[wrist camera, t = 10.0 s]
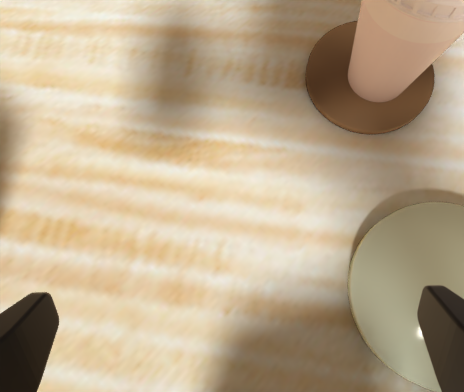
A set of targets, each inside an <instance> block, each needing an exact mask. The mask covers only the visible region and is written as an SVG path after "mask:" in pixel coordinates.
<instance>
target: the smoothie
mask: <svg viewBox="0 0 464 392" xmlns="http://www.w3.org/2000/svg"><path fill="white" fill-rule="evenodd" d="M463 33H464V0H362V1H361V7H360V12H359V17H358V22H357V28H356V33H355V38H354V43H353V48H352V54H351V59H350V64H349V69H348V81H349V84H350V86H351V88H352V89H353V91H354V92H355V93H356V94H357V95H358V96H360V97H361V98H363V99H365V100H368V101H371V102H387V101H390V100H393V99H394V98H396V97H398V96H399V95H400V94H401V93H402V92H403V91H404V90H405V89H406V88H407V87H408V86H409V85H410V84H411V83H412V82H413V81H414V80H415V79H416V78H417V77H418V76H419V75H421V74H422V73H423V72H424V71H425V70H426V69H427V68H428V67H429V66H430V65H431V64H432V63H433V62H434V61H435V60H436V59H437V58H438V57H439V56H440V55H441V54H442V53H443V52H444V51H445V50H446V49H447V48H448V47H449V46H450V45H451V44H453V43H454V42H455V41H456V40H457V39H458V38H459V37H460V36H461V35H462V34H463Z"/></svg>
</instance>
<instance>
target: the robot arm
mask: <svg viewBox="0 0 464 392" xmlns="http://www.w3.org/2000/svg"><path fill="white" fill-rule="evenodd" d="M417 318H418V322H419V325H420V328H421V332H422V335H423V338H424V341H425V344H426V347H427V350H428V353H429V356H430V360H431V363H432V366H433V369H434V372H435V375H436V378H437V381H438V383H439V386H440V388H441V391H442V392H464V299H463V298H462V297H460V296H459V295H457V294H456V293H454V292H453V291H451V290H450V289H448V288H447V287H445V286H443V285H427V286H425V287H424V288H423V290H422V294H421V298H420V302H419V306H418V311H417ZM58 326H59V316H58V313H57V310H56V307H55V305H54V302H53V299H52V297H51V295H50V294H49V293H47V292H36V293H31V294H29V295H27V296H26V297H24V298H23V299H21V300H20V301H18V302H17V303H16V304H14V305H13V306H11V307H10V308H8V309H7V310H5V311H4V312H2V313H1V314H0V392H37V390H38V387H39V385H40V382H41V379H42V376H43V373H44V370H45V367H46V364H47V360H48V357H49V354H50V351H51V348H52V345H53V342H54V338H55V335H56V332H57V329H58Z"/></svg>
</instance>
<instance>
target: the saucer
mask: <svg viewBox="0 0 464 392" xmlns="http://www.w3.org/2000/svg"><path fill="white" fill-rule="evenodd" d="M427 285H443V286H445V287H447V288H448V289H450V290H451V291H453V292H454V293H456V294H457V295H459V296H460V297H462V298H463V299H464V206H462V205H458V204H454V203H446V202H426V203H418V204H414V205H410V206H407V207H404V208H402V209H399V210H397V211H395V212H393V213H392V214H390V215H388V216H387V217H385V218H384V219H382V220H381V221H379V222H378V223H377V224H376V225H374V226H373V227H372V228H371V229H370V230H369V231H368V232H367V233H366V234H365V236H364V237H363V239H362V240H361V241H360V243H359V245H358V247H357V249H356V250H355V252H354V255H353V258H352V261H351V264H350V269H349V274H348V298H349V304H350V309H351V312H352V315H353V318H354V321H355V324H356V326H357V328H358V330H359V332H360V334H361V336H362V338H363V339H364V341H365V342H366V344H367V345H368V347H369V348H370V349H371V350H372V352H373V353H374V354H375V355H376V356H377V357H378V358H379V359H380V360H381V361H382V362H383V363H384V364H385V365H386V366H387V367H389V368H390V369H391V370H392V371H394V372H395V373H396V374H398V375H400V376H401V377H403V378H405V379H406V380H408V381H410V382H412V383H414V384H417V385H419V386H421V387H423V388H426V389H428V390H431V391H435V392H442V391H441V388H440V386H439V383H438V381H437V378H436V375H435V372H434V369H433V366H432V363H431V360H430V356H429V353H428V350H427V347H426V344H425V341H424V338H423V335H422V332H421V328H420V325H419V322H418V318H417V311H418V306H419V302H420V298H421V294H422V290H423V288H424V287H425V286H427Z"/></svg>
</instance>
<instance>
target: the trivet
mask: <svg viewBox="0 0 464 392" xmlns="http://www.w3.org/2000/svg"><path fill="white" fill-rule="evenodd" d="M357 22H358V21H354V22H349V23H346V24H343V25H340V26H338V27H336V28H334V29H332V30H331V31H329V32H328V33H326V34H325V35H324V36H323V37H322V38H321V39H320V40H319V41H318V42H317V44H316V45H315V47H314V48H313V50H312V52H311V54H310V57H309V60H308V64H307V69H306V85H307V90H308V93H309V96H310V98H311V100H312V102H313V104H314V105H315V106H316V108H317V109H318V110H319V112H320V113H321V114H322V115H323V116H324V117H326V118H327V119H328V120H329V121H331V122H332V123H334V124H335V125H337V126H339V127H341V128H343V129H346V130H349V131H352V132H356V133H362V134H381V133H387V132H391V131H394V130H396V129H399V128H401V127H403V126H405V125H406V124H408V123H409V122H411V121H412V120H413V119H414V118H415V117H416V116H417V115H418V114H419V113H420V112H421V111H422V110H423V108H424V107H425V106H426V104H427V103H428V101H429V99H430V97H431V94H432V91H433V87H434V69H433V65H432V64H431V65H430V66H429V67H428V68H427V69H426V70H425V71H424V72H423V73H422V74H421V75H419V76H418V77H417V78H416V79H415V80H414V81H413V82H412V83H411V84H410V85H409V86H408V87H407V88H406V89H405V90H404V91H403V92H402V93H401V94H400V95H399V96H398V97H396V98H394V99H393V100H390V101H387V102H371V101H368V100H365V99H363V98H361V97H360V96H358V95H357V94H356V93H355V92H354V91H353V89H352V88H351V86H350V84H349V81H348V69H349V64H350V59H351V54H352V48H353V43H354V38H355V33H356V28H357Z"/></svg>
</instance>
